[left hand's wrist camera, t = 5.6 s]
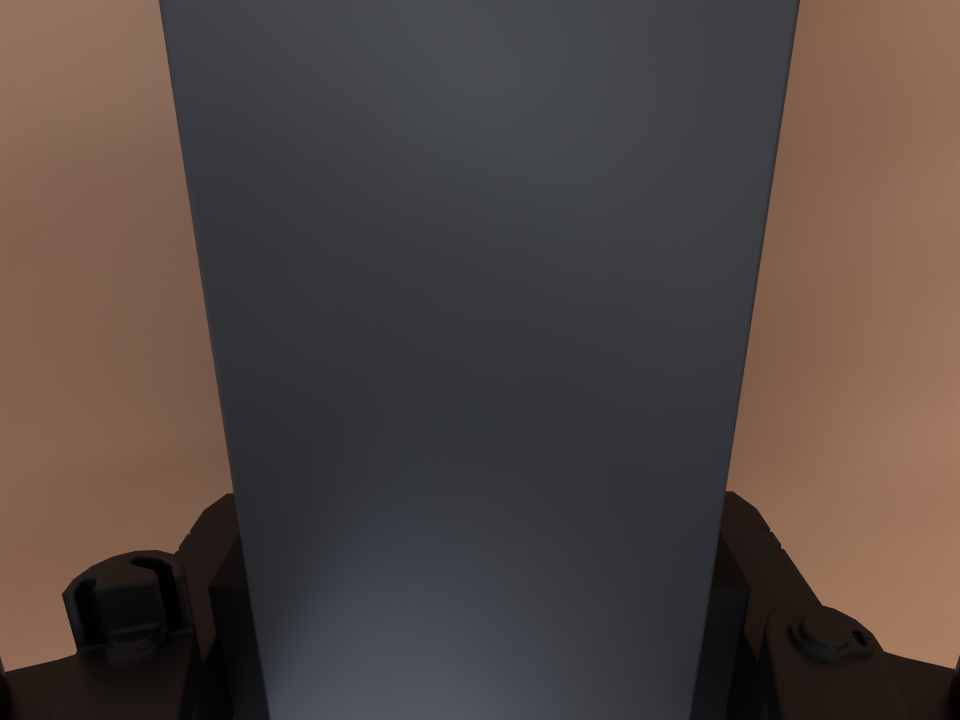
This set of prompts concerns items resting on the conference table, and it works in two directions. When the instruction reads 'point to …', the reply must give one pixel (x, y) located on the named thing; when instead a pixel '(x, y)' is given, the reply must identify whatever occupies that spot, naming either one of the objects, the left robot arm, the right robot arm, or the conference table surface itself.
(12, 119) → the conference table surface
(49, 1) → the conference table surface
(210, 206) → the bar
